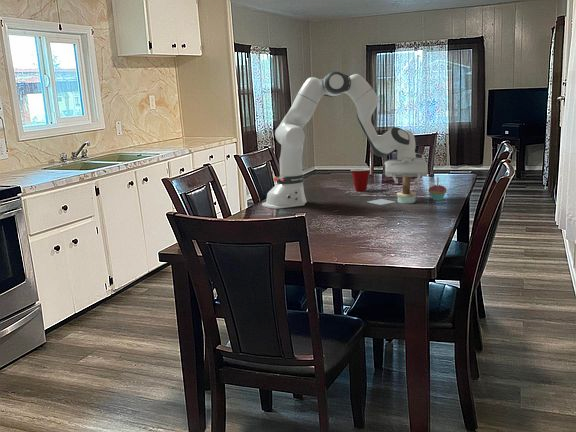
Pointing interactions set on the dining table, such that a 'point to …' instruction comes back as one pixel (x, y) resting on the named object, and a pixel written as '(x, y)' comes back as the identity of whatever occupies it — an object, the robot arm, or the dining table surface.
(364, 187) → the plastic cup
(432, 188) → the cupcake
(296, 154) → the robot arm
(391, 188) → the dining table surface
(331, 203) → the dining table surface
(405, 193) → the lid
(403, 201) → the bowl
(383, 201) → the mat
